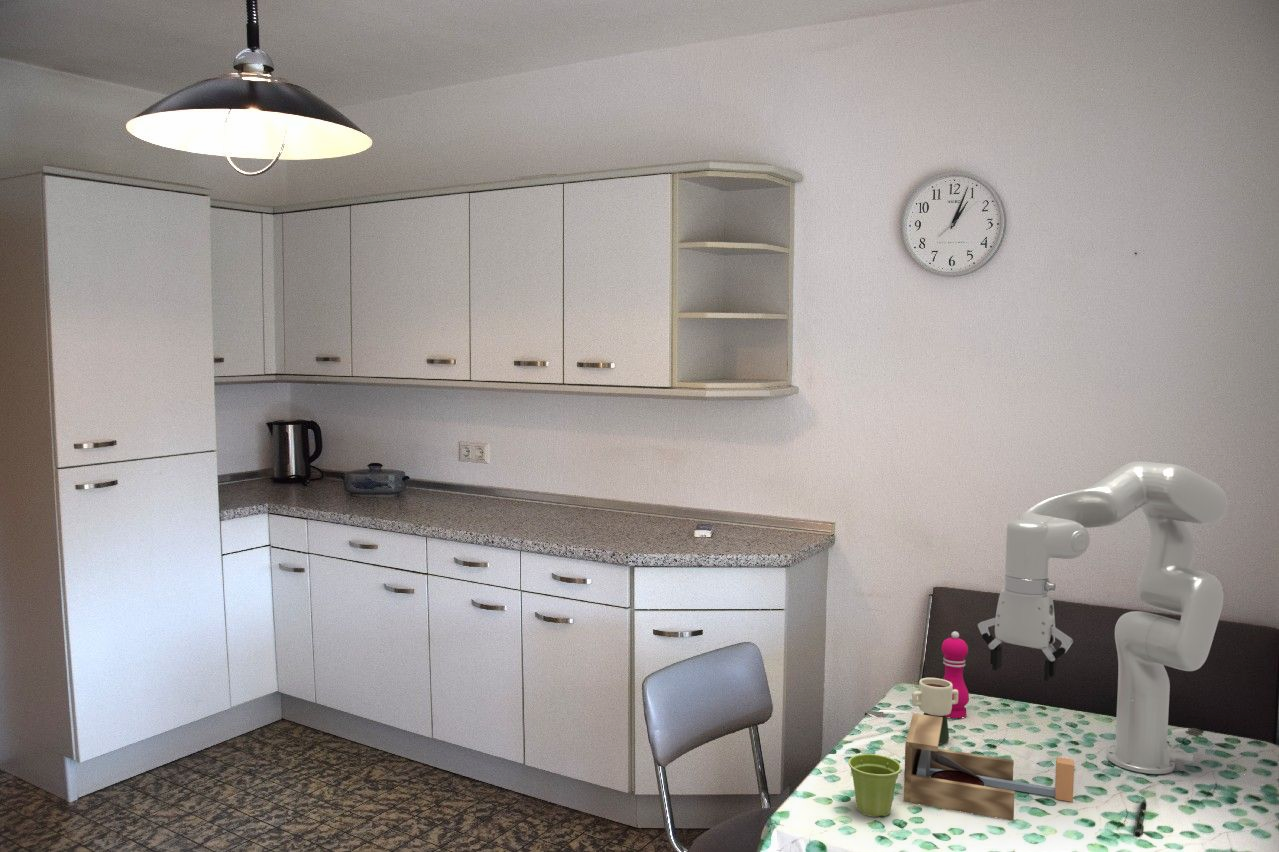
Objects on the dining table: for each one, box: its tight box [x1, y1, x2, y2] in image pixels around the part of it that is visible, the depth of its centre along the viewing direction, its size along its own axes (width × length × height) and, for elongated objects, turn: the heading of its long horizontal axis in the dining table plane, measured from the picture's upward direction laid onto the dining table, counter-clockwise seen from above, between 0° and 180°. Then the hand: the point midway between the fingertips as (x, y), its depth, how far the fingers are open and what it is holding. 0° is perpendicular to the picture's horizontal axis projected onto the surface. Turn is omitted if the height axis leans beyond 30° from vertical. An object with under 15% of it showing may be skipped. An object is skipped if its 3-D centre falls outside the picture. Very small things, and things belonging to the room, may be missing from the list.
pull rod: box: [916, 749, 1075, 803], centre depth 178 cm, size 28×14×7 cm, turn 69°
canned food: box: [930, 753, 986, 786], centre depth 180 cm, size 11×10×10 cm
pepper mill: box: [941, 630, 970, 719], centre depth 223 cm, size 7×7×20 cm
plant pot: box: [847, 753, 902, 818], centre depth 172 cm, size 9×9×9 cm
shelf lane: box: [902, 712, 1016, 822], centre depth 180 cm, size 19×16×12 cm
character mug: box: [911, 677, 958, 744], centre depth 207 cm, size 11×7×13 cm, turn 101°
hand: (1022, 674), depth 179 cm, fingers open, 9 cm apart
